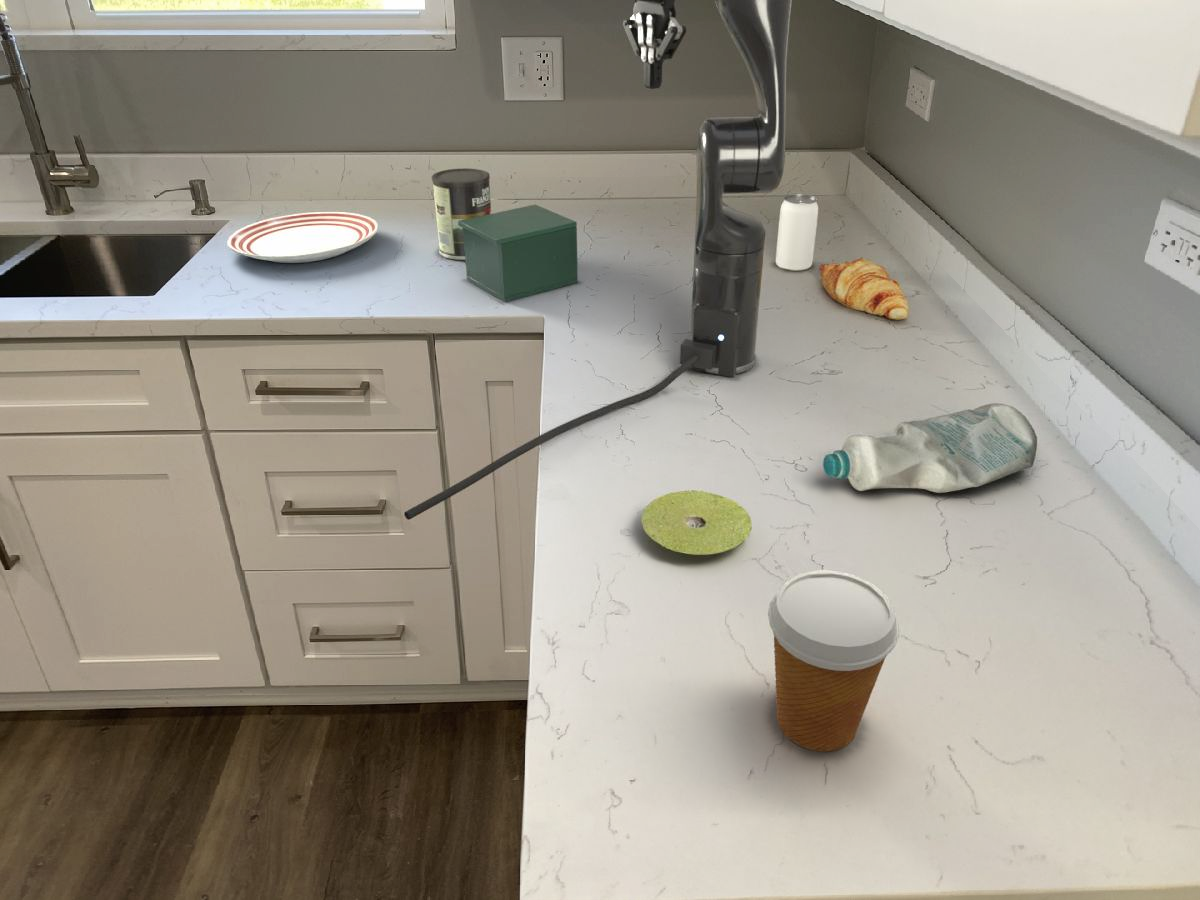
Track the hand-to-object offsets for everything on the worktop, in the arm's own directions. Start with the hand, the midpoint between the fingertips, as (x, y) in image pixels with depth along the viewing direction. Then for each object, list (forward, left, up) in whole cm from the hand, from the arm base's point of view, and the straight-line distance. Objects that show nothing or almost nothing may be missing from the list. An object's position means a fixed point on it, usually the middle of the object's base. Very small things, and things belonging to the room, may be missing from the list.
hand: (652, 87), depth 145 cm
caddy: (-11, +19, -31) cm, 38 cm away
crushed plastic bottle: (-48, -52, -31) cm, 77 cm away
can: (+15, -22, -31) cm, 41 cm away
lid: (-11, +19, -21) cm, 31 cm away
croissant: (+2, -36, -31) cm, 48 cm away
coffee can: (-1, +36, -31) cm, 48 cm away
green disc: (-69, -32, -31) cm, 82 cm away
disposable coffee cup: (-89, -49, -31) cm, 106 cm away
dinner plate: (-11, +65, -31) cm, 73 cm away
